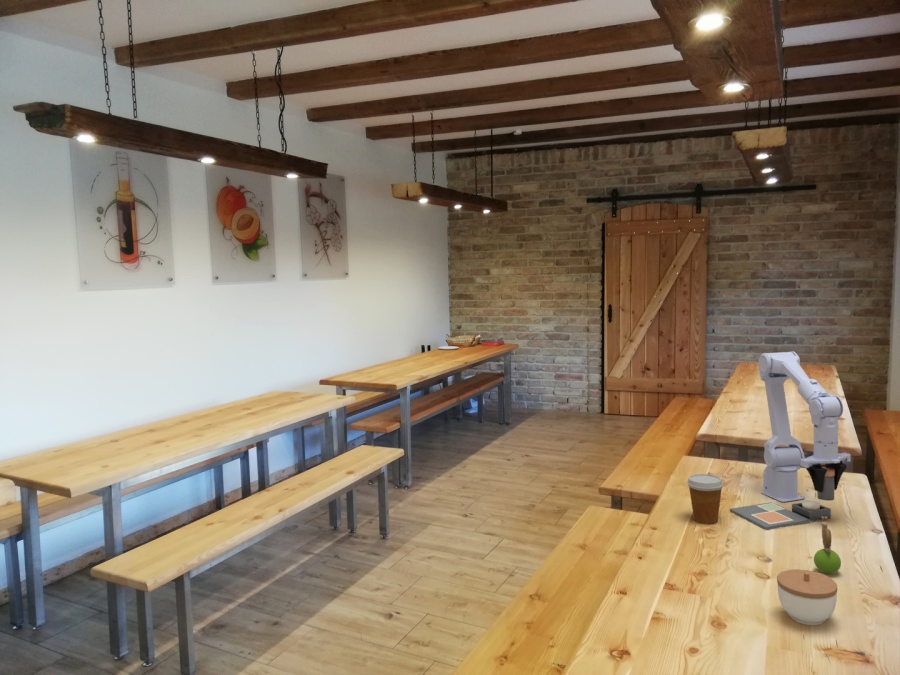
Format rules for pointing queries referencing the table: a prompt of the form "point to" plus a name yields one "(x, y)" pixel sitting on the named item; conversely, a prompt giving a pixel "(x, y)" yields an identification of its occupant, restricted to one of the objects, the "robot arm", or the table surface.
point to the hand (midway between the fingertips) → (825, 490)
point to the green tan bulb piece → (827, 553)
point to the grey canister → (827, 485)
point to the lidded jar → (807, 595)
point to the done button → (810, 505)
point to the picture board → (769, 516)
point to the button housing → (811, 512)
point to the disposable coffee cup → (705, 497)
